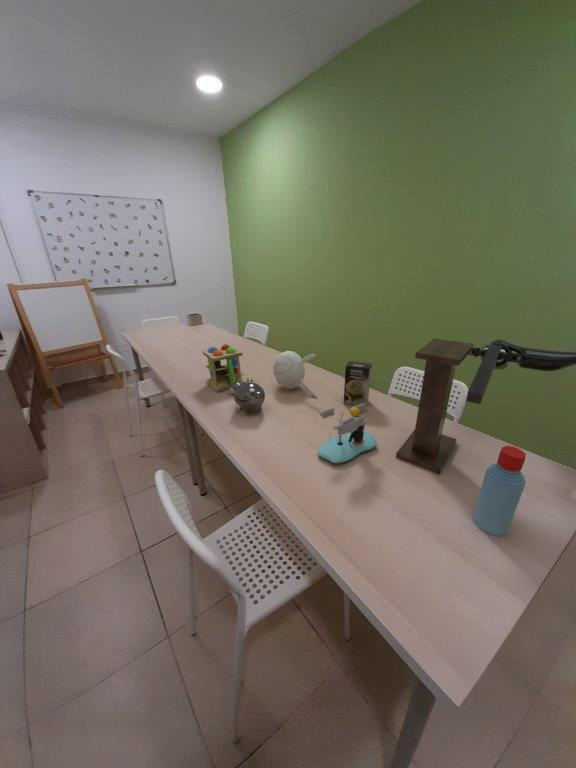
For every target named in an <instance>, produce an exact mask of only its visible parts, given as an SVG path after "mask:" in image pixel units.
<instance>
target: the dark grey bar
mask: <svg viewBox="0 0 576 768" xmlns="http://www.w3.org/2000/svg"><path fill="white" fill-rule="evenodd" d="M488 344H489V346H488V349H487V351H486V353H485V355H484V357H483V360H481V362H480V364H479V367H478V369H477V371H476V373H475V375H474V378H473V380H472V382H471V384H470V386H469V388H468V390H467V393H466V394H467V395H466V399H465V400H466V402H469V403H473V404H477V405H481V404H482V401H483V399H484V396H485V393H486V391H487V389H488V387H489V386H488V385H489V383H490V381H491V378H492V376H493V373H494V370H495V369H494V368H495V366H496V363H497V358H498V354H499V352H500V351H501V348H502V346H500V345H493V344H490V343H488Z"/></svg>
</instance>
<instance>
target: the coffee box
mask: <svg viewBox="0 0 576 768" xmlns="http://www.w3.org/2000/svg"><path fill="white" fill-rule="evenodd" d="M372 367H373V365H372V363H371V362H362V361H352V360H349V361H347V363H346V365H345V370H344V371H345V372H344V387H343V404H346V405H352V406H356V405H360V404H363V403H365V404H366V405H367V404H368V402H369V395H370V386H371V385H370V384H371V374H372Z"/></svg>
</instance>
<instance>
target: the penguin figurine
mask: <svg viewBox="0 0 576 768" xmlns="http://www.w3.org/2000/svg"><path fill="white" fill-rule="evenodd" d="M367 411H368V409H367V405H366V404H365V403H363V404H360V405H353V406H352V407H350V408H349V410H348V413H349V416H348V417H347V418H345V419H343V418H342V416H344V412H343V413H342V410H341V411H340V412H339V413H340V418H338V419H337V420H338V422H337V423H338V424H335V425H333V426H332V429H334V430H336V431H337V435H338V436H336V437H335V436H334V437H329V438H328V439H327V440H326V441H324V442H323V444H322V445H321V446H320V447H319V448H318V449H317V454H318V456H320V458H322V459H325V460H327V461H329V462H331V463H333V464H341V463H345V462H349V461H350V460H352V459H354V458H355V457H357V456H358V455H360V454H361V453H364V452H366V451H370V450H372V449H374V448H376V447H377V446H378V442H377V441H376V440H375V437H374V436H373V435H372V434H371V433H369V432H368V431H366V428H365V427H366V426H365V425H366V424H367V422H368V421H366V420H365V418H364V417H363V416H361V415H363V414H366V412H367ZM334 415H335V408H333V407H332V408H328V409H324V410H322V411H321V412H320V416H321V418H322V419H324V420H325V419H327V418H329V417H332V416H334ZM359 415H360V416H359ZM342 419H343V420H342ZM329 435H331V433H330V432H329ZM343 435H344V436H343Z"/></svg>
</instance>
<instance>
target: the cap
mask: <svg viewBox="0 0 576 768" xmlns="http://www.w3.org/2000/svg"><path fill="white" fill-rule="evenodd" d="M526 457H527V454H526V452H525V451H524V450H523V449H520V448H518V447H516V446H511V445H504V446H502V447H501V449H500V451H499V454H498V457H497V461H496V463H498V465H499V466H500V467H502V468H503V469H505V470H508V471H512V472H518V471H522V469H523V466H524V463H525V462H526V461H525V460H526Z"/></svg>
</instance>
